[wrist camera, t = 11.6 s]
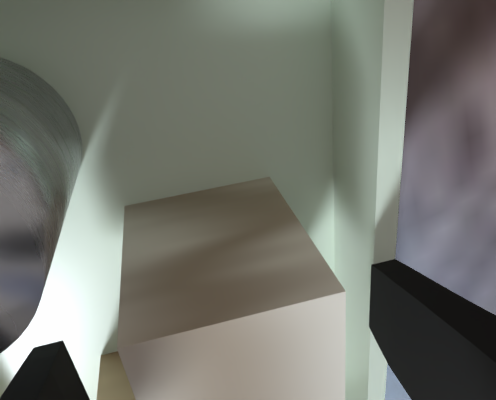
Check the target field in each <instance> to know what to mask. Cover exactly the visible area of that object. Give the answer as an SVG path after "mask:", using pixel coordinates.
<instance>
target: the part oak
mask: <svg viewBox="0 0 496 400" xmlns="http://www.w3.org/2000/svg"><path fill="white" fill-rule="evenodd" d="M97 400H136V399H135V396H134V394H133V391H132V388H131V385H130V383H129V380H128V377H127V375H126V372H125V369H124V366H123V364H122V361H121V358H120V356H119V353H118V351H116V352H112V353H109V354H105V355H101V358H100V368H99V379H98V389H97Z"/></svg>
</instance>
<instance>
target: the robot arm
mask: <svg viewBox="0 0 496 400" xmlns="http://www.w3.org/2000/svg"><path fill="white" fill-rule="evenodd" d="M369 328H370V330H371V332H372V334H373V336H374V338H375V340H376V342H377V344H378V346H379V348H380V350H381V352H382V354H383V355H384V357H385V359H386V361H387V363H388V365H389V366H390V368H391V369H392V371H393V372H394V374H395V375H396V377H397V378H398V380H399V381H400V383H401V384H402V386H403V387H404V389H405V390H406V392H407V393H408V395H409V396H410V398H411V399H412V400H496V315H494V314H492V313H490V312H488V311H486V310H485V309H483V308H481V307H479V306H477V305H475V304H473V303H472V302H470V301H468V300H466V299H464V298H463V297H461V296H459V295H457V294H455V293H454V292H452V291H450V290H448V289H447V288H445V287H443V286H441V285H440V284H438V283H436V282H434V281H433V280H431V279H429V278H427V277H426V276H424V275H422V274H421V273H419V272H417V271H415V270H414V269H412V268H410V267H408V266H406V265H405V264H403V263H401V262H399V261H397V260H395V259H393V260H389V261H385V262H380V263H376V264H372V265H371V284H370V310H369ZM0 400H90V399H89V396H88V394H87V392H86V390H85V388H84V385H83V383H82V381H81V379H80V377H79V374H78V372H77V370H76V368H75V366H74V363H73V361H72V359H71V357H70V355H69V352H68V350H67V348H66V346H65V344H64V341H63V340H62V341H58V342H54V343H50V344H46V345H42V346H38V347H34V348H33V349H32V351H31V352H30V354H29V355H28V356H27V358H26V359H25V361H24V362H23V364H22V365H21V367H20V368H19V370H18V371H17V373H16V374H15V376H14V377H13V379H12V380H11V382H10V383H9V385H8V387H7V388H6V390H5V391H4V393H3V394H2V396H1V397H0Z"/></svg>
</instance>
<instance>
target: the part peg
mask: <svg viewBox="0 0 496 400" xmlns="http://www.w3.org/2000/svg"><path fill="white" fill-rule="evenodd" d="M81 161H82V139H81V135H80V131H79V127H78V124H77V122H76V119H75V117H74V115H73V113H72V112H71V110H70V108H69V106H68V105H67V104H66V102H65V101H64V99H63V98H62V97H61V96H60V95H59V94H58V92H57V91H56V90H55V89H54V88H53V87H52V86H51V85H49V84H48V83H47V82H46V81H45V80H44V79H42V78H41V77H39V76H38V75H37V74H35V73H34V72H32V71H30V70H29V69H27V68H25V67H23V66H21V65H19V64H17V63H14V62H12V61H9V60H7V59H4V58H0V353H2V352H3V351H5V350H6V349H7V348H8V347H9V346H11V345H12V344H13V343H14V342H15V341H16V340H17V339H18V338H19V337H20V336H21V335H22V333H23V332H24V331H25V330H26V329H27V327H28V326H29V324H30V322H31V321H32V319H33V317H34V316H35V314H36V311H37V308H38V306H39V303H40V300H41V297H42V294H43V290H44V287H45V284H46V280H47V277H48V274H49V270H50V267H51V264H52V260H53V257H54V253H55V250H56V247H57V243H58V240H59V237H60V233H61V230H62V227H63V223H64V220H65V217H66V213H67V210H68V207H69V203H70V200H71V197H72V193H73V190H74V186H75V183H76V180H77V176H78V173H79V170H80V166H81Z"/></svg>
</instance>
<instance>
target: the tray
mask: <svg viewBox="0 0 496 400" xmlns="http://www.w3.org/2000/svg"><path fill="white" fill-rule="evenodd" d="M413 5H414V0H0V58H4V59H7V60H9V61H12V62H14V63H17V64H19V65H21V66H23V67H25V68H27V69H29V70H30V71H32V72H34V73H35V74H37V75H38V76H39V77H41V78H42V79H44V80H45V81H46V82H47V83H48V84H49V85H51V86H52V87H53V88H54V89H55V90H56V91H57V92H58V94H59V95H60V96H61V97H62V98H63V99H64V101H65V102H66V104H67V105H68V106H69V108H70V110H71V112H72V113H73V115H74V117H75V119H76V122H77V124H78V127H79V131H80V135H81V139H82V161H81V166H80V170H79V173H78V176H77V180H76V183H75V186H74V190H73V193H72V197H71V200H70V203H69V207H68V210H67V213H66V217H65V220H64V223H63V227H62V230H61V233H60V237H59V240H58V243H57V247H56V250H55V253H54V257H53V260H52V264H51V267H50V270H49V274H48V277H47V280H46V284H45V287H44V290H43V294H42V297H41V300H40V303H39V306H38V308H37V311H36V314H35V316H34V317H33V319H32V321H31V322H30V324H29V326H28V327H27V329H26V330H25V331H24V332H23V333H22V335H21V336H20V337H19V338H18V339H17V340H16V341H15V342H14V343H13V344H12V345H11V346H9V347H8V348H7V349H6V350H5V351H3V352H2V353H0V397H1V396H2V394H3V393H4V391H5V390H6V388H7V387H8V385H9V383H10V382H11V380H12V379H13V377H14V376H15V374H16V373H17V371H18V370H19V368H20V367H21V365H22V364H23V362H24V361H25V359H26V358H27V356H28V355H29V354H30V352H31V351H32V349H33V348H34V347H38V346H42V345H46V344H50V343H54V342H58V341H62V340H63V341H64V344H65V346H66V348H67V350H68V352H69V355H70V357H71V359H72V361H73V363H74V366H75V368H76V370H77V372H78V374H79V377H80V379H81V381H82V383H83V385H84V388H85V390H86V392H87V394H88V396H89V399H90V400H97V389H98V379H99V368H100V358H101V355H105V354H109V353H112V352H116V351H118V350H117V338H118V320H119V301H120V282H121V263H122V245H123V226H124V207H125V206H127V205H132V204H137V203H142V202H147V201H152V200H157V199H162V198H167V197H172V196H177V195H182V194H187V193H192V192H196V191H201V190H206V189H211V188H216V187H221V186H226V185H231V184H236V183H241V182H246V181H251V180H256V179H261V178H266V177H270V178H271V180H272V181H273V183H274V184H275V186H276V187H277V189H278V190H279V192H280V193H281V195H282V196H283V198H284V199H285V201H286V202H287V204H288V205H289V207H290V208H291V210H292V211H293V213H294V214H295V216H296V217H297V219H298V220H299V222H300V223H301V225H302V226H303V228H304V229H305V231H306V232H307V234H308V235H309V237H310V238H311V240H312V241H313V243H314V244H315V246H316V247H317V249H318V250H319V252H320V253H321V255H322V256H323V258H324V259H325V261H326V262H327V264H328V265H329V267H330V268H331V270H332V271H333V273H334V274H335V276H336V277H337V279H338V280H339V282H340V283H341V285H342V286H343V288H344V289H345V291H346V350H345V400H385V388H386V375H387V361H386V359H385V357H384V355H383V354H382V352H381V350H380V348H379V346H378V344H377V342H376V340H375V338H374V336H373V334H372V332H371V330H370V328H369V310H370V284H371V265H372V264H376V263H380V262H385V261H389V260H393V259H395V251H396V238H397V224H398V210H399V197H400V183H401V169H402V155H403V142H404V128H405V114H406V101H407V87H408V73H409V60H410V46H411V32H412V19H413Z"/></svg>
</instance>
